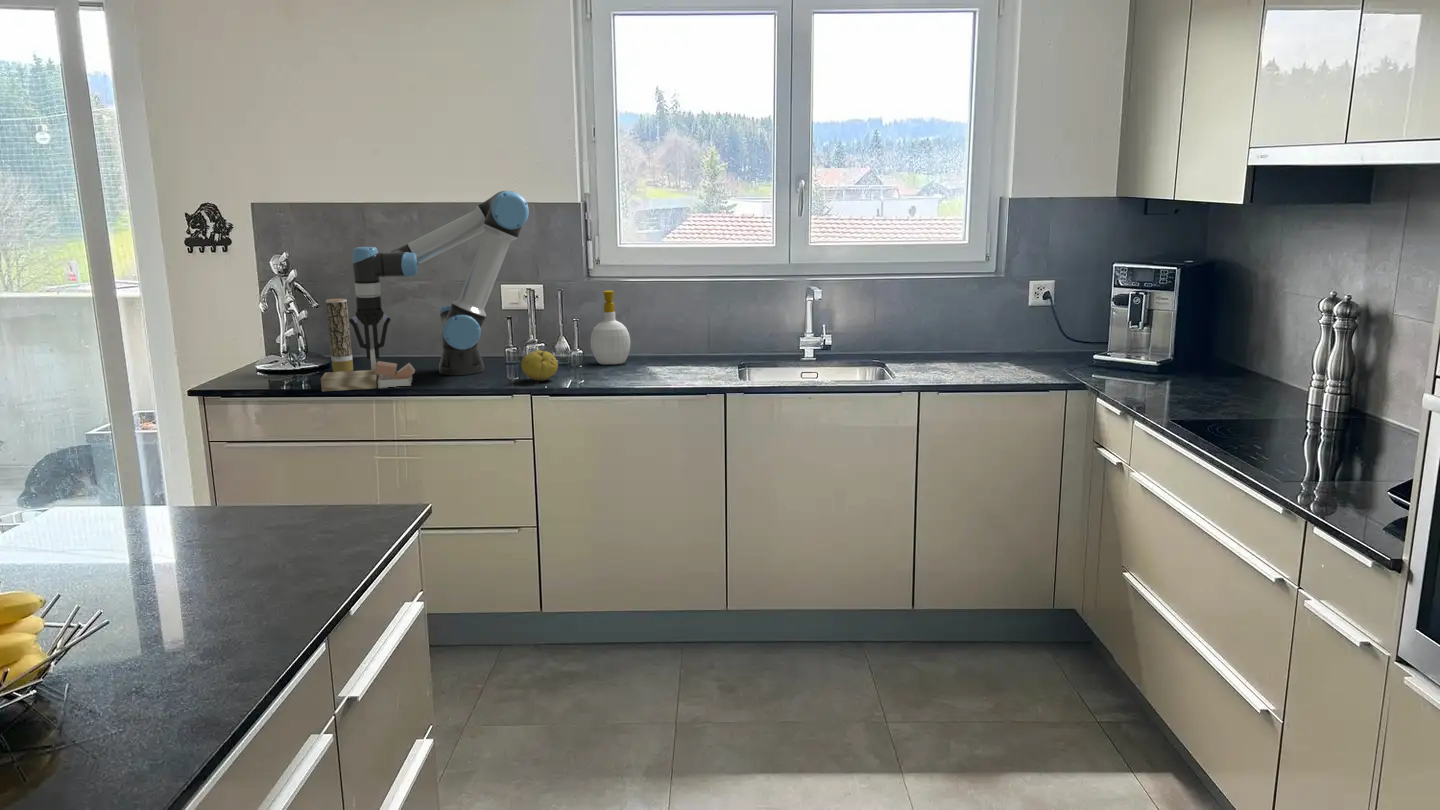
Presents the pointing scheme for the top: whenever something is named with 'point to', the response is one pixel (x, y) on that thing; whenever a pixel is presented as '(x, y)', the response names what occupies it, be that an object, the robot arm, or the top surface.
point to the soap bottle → (610, 336)
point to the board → (349, 380)
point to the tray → (393, 381)
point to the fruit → (539, 365)
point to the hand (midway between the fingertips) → (374, 368)
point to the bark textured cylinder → (339, 335)
